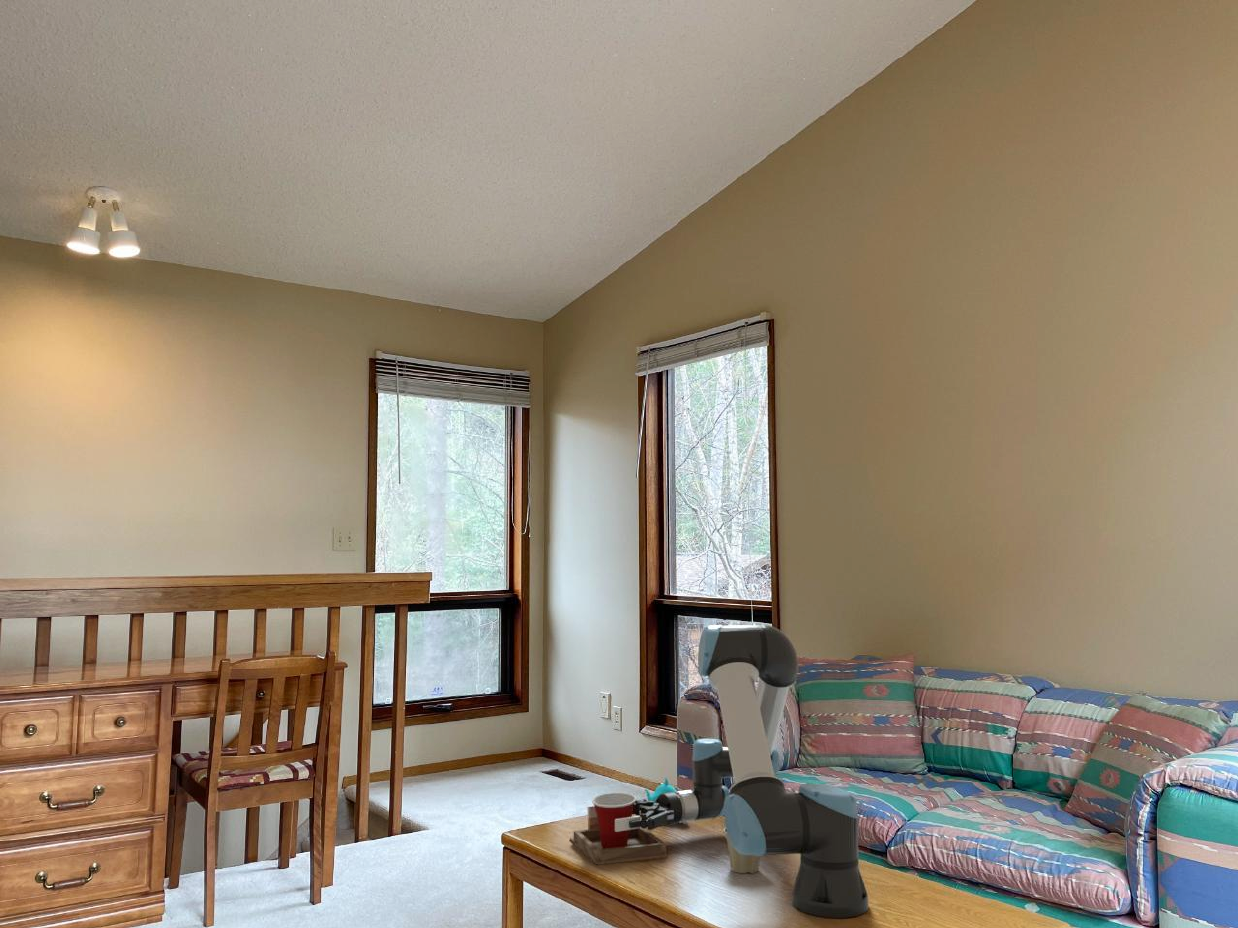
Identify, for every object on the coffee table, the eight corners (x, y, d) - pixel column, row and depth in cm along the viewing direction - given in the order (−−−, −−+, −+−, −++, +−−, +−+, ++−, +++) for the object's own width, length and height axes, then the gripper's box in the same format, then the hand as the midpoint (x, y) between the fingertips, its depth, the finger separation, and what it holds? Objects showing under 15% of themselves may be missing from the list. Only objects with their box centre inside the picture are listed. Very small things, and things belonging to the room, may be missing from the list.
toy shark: (673, 828, 251) (673, 786, 252) (631, 813, 265) (631, 773, 266) (701, 822, 256) (701, 781, 258) (658, 808, 271) (658, 769, 272)
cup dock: (665, 856, 226) (665, 824, 227) (596, 864, 221) (596, 830, 221) (634, 833, 246) (634, 803, 247) (569, 839, 240) (569, 808, 241)
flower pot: (764, 877, 212) (763, 837, 213) (721, 874, 214) (721, 834, 215) (766, 864, 221) (766, 825, 222) (725, 861, 223) (725, 823, 224)
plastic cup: (581, 848, 231) (582, 797, 232) (613, 839, 239) (613, 789, 240) (614, 858, 223) (614, 805, 225) (645, 848, 231) (645, 797, 232)
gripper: (704, 835, 229) (628, 848, 219) (649, 811, 251) (577, 822, 240) (704, 802, 230) (628, 814, 220) (649, 782, 252) (577, 791, 241)
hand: (601, 818), depth 230 cm, fingers open, 13 cm apart
